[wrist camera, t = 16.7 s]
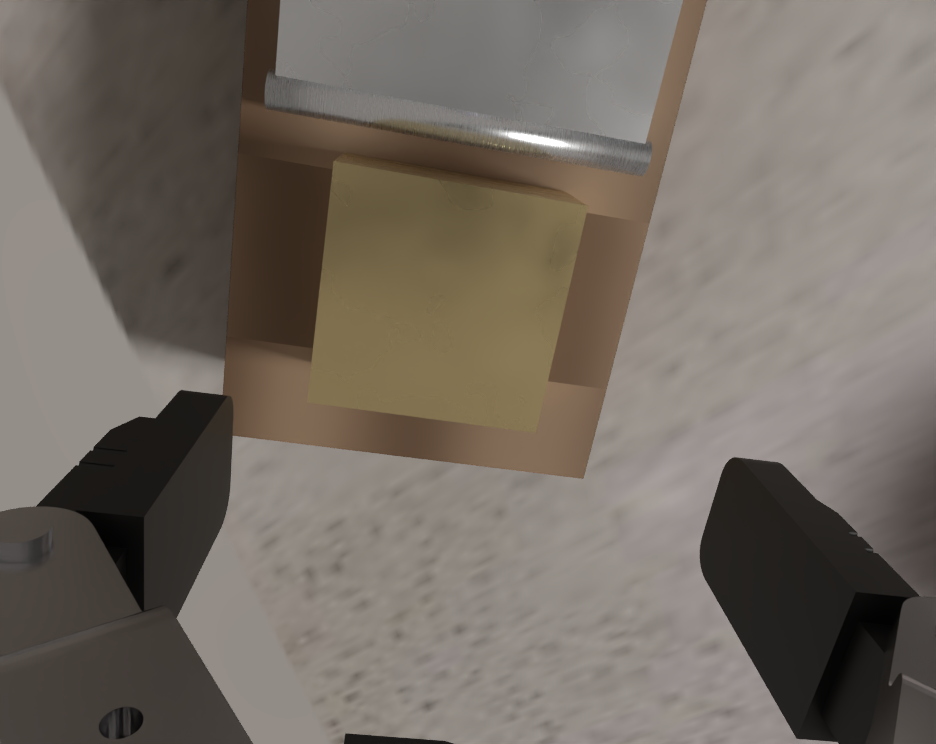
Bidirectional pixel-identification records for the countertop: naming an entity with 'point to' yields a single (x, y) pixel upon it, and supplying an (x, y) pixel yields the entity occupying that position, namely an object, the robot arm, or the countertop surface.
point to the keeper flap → (483, 72)
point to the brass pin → (441, 293)
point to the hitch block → (301, 255)
